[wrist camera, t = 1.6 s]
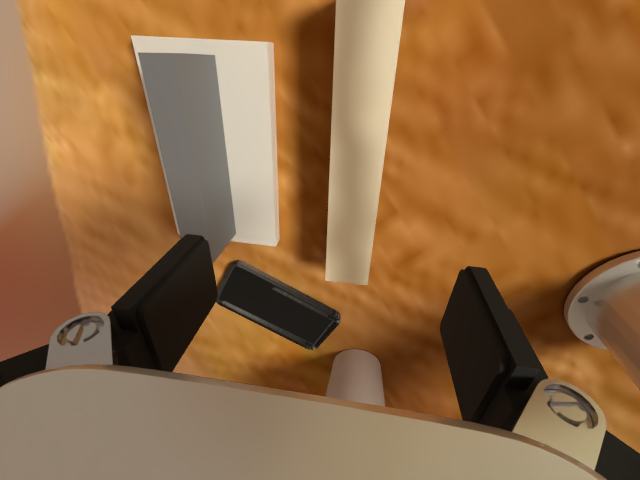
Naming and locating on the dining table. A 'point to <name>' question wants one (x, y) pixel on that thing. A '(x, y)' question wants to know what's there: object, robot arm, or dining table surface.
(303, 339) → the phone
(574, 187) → the dining table surface
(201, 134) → the ridge stand
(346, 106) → the beam
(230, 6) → the dining table surface
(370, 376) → the coffee cup
